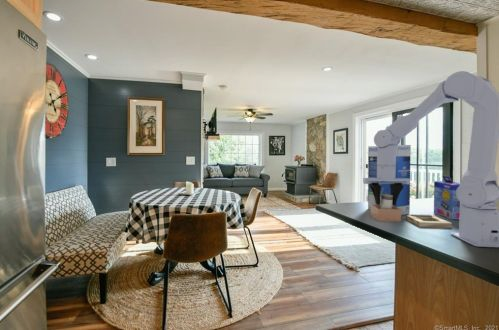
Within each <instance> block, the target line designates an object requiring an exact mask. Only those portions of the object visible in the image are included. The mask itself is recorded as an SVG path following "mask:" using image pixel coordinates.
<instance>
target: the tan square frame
mask: <svg viewBox="0 0 499 330" xmlns="http://www.w3.org/2000/svg"><path fill="white" fill-rule="evenodd" d="M405 220H406V221H408V222H410V223H411V224H414V225H415V226H417V227H419V228H438V229H442V228H443V229H453V228H452V227H453V223H452V222H450V221H448V220H445V219H443V218H441V217H438V216H436V215H431V214H422V213H421V214H416V213H415V214H414V213H411V214H405Z"/></svg>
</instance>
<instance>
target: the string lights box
mask: <svg viewBox="0 0 499 330" xmlns="http://www.w3.org/2000/svg"><path fill="white" fill-rule="evenodd" d="M411 146H412V145H411V144H398V146H397V151H396V177H395V178H408V179H410V180H411V149H412V147H411ZM367 154H368V155H367V157H368V160H367V163H368V165H367V178H377V146H376V145H374V146H373V145H371V146H369V145H368V147H367ZM381 182H386V181H381ZM379 185H380V186H381V192H380V204H381V194H385V193H387V194H390V195H391V189H390V184H379ZM402 185H404V187H403V189H402V191H401V192H400V194H399V196H398V198H397V201H396V205H393V206H395V207H397V208H399V209H401V216H404V215H405V216H406V215H411V214H410V212H411V211H410V210H411V209H410V208H411V207H410V205H411V204H410V203H411V201H410V200H411V194H410V193H411V183H410V184H402ZM371 205H377V204H376V203H375V198H374V195H373V192H372V190H371V188H370V186H369V184H367V210H371Z"/></svg>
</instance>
